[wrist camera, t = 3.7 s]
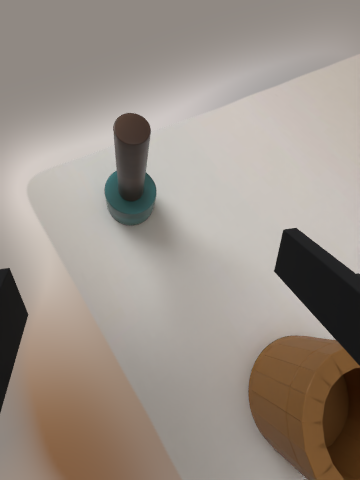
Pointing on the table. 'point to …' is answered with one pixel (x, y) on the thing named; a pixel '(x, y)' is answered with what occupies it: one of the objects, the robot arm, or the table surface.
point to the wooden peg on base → (130, 172)
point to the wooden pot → (309, 405)
